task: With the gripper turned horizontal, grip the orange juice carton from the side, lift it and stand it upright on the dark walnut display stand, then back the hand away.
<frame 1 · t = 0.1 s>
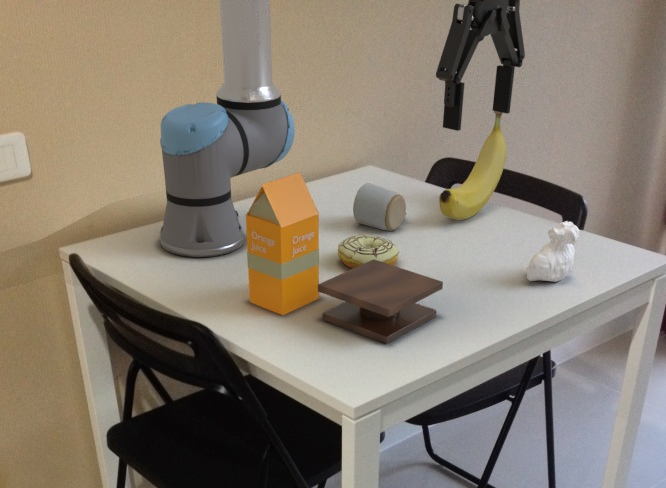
hand: (477, 120, 149), 28 cm above the table, tool pointing down, fingers open, 13 cm apart
banana: (468, 214, 197), on the table
stand: (379, 318, 156), on the table
ceramic mug: (382, 225, 191), on the table
orange juice: (284, 301, 161), on the table
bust: (551, 279, 171), on the table
decorated donut: (367, 263, 175), on the table
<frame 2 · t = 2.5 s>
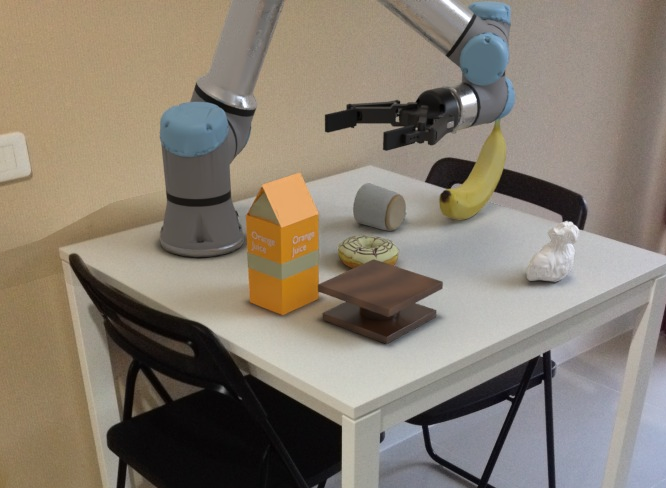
hand: (354, 132, 156), 24 cm above the table, tool horizontal, fingers open, 13 cm apart
nothing on the table moved.
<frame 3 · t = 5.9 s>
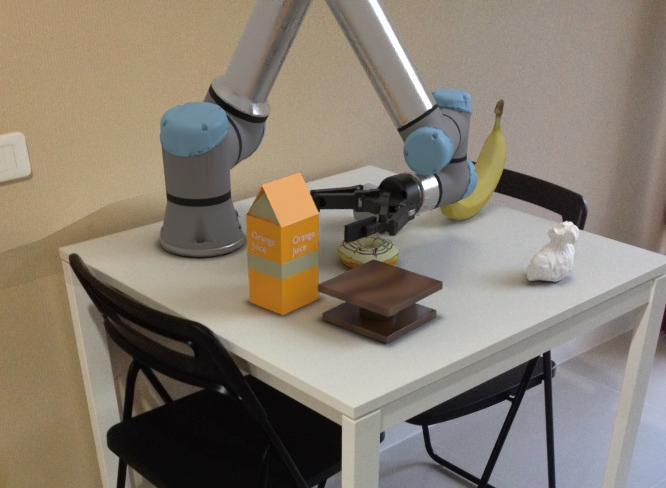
hand: (316, 222, 158), 11 cm above the table, tool horizontal, fingers open, 13 cm apart
nothing on the table moved.
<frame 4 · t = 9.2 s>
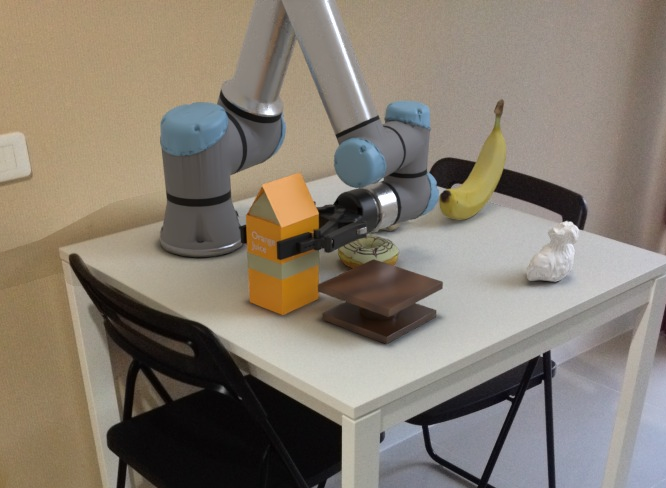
hand: (260, 242, 152), 11 cm above the table, tool horizontal, fingers closed on orange juice, 8 cm apart
orange juice: (284, 301, 161), on the table, touching gripper
everything else where it was.
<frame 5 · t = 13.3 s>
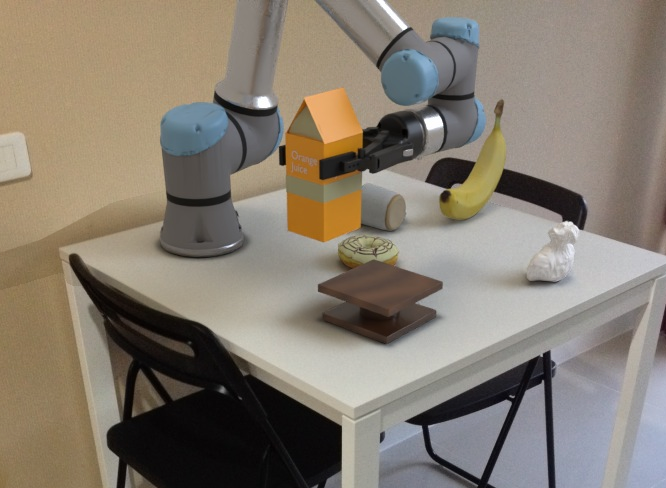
hand: (300, 162, 142), 24 cm above the table, tool horizontal, fingers closed on orange juice, 8 cm apart
orange juice: (324, 230, 151), point 13 cm above the table, touching gripper
everything else where it was.
when the fingers open (17 cm above the table, at t = 17.8 s): orange juice stays where it is, resting on stand.
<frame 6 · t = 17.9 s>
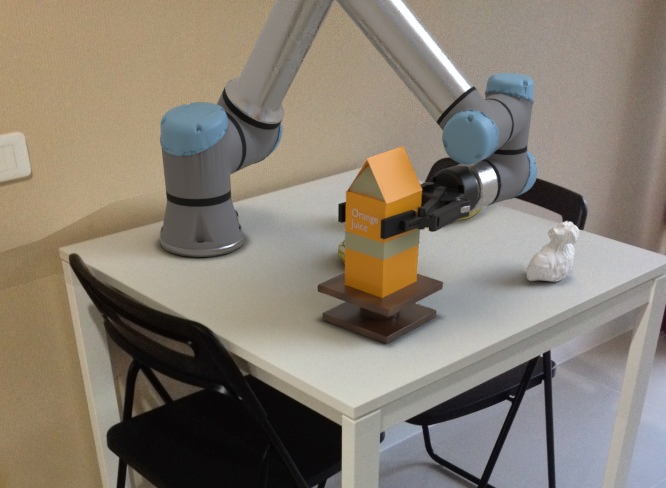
hand: (360, 221, 144), 17 cm above the table, tool horizontal, fingers open, 8 cm apart
orange juice: (381, 284, 153), point 6 cm above the table, touching stand
everything else where it was.
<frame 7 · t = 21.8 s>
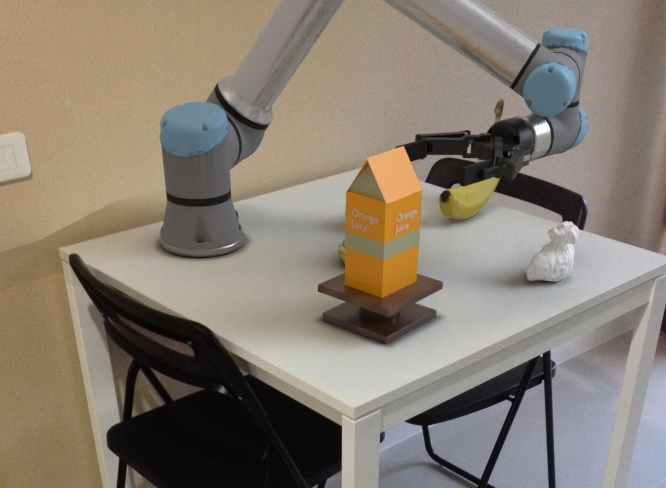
hand: (428, 166, 148), 22 cm above the table, tool horizontal, fingers open, 13 cm apart
nothing on the table moved.
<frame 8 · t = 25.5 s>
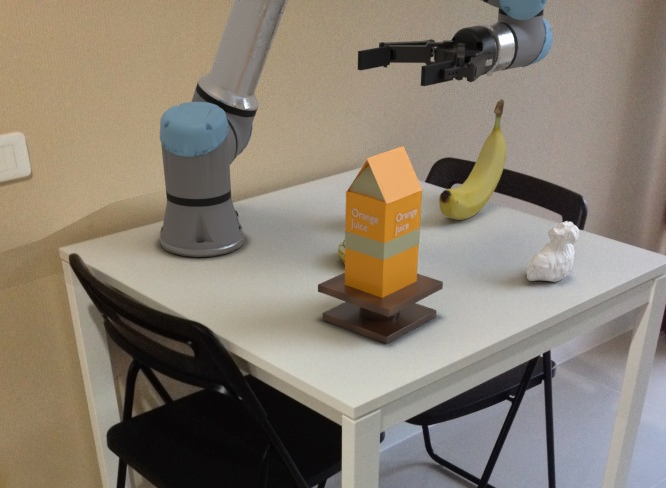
hand: (390, 68, 149), 34 cm above the table, tool horizontal, fingers open, 13 cm apart
nothing on the table moved.
at the end: orange juice inside the target area on the stand (0.0 cm from its centre), point 5.8 cm above the stand's base; orange juice tilted 0°; the gripper is holding nothing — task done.
